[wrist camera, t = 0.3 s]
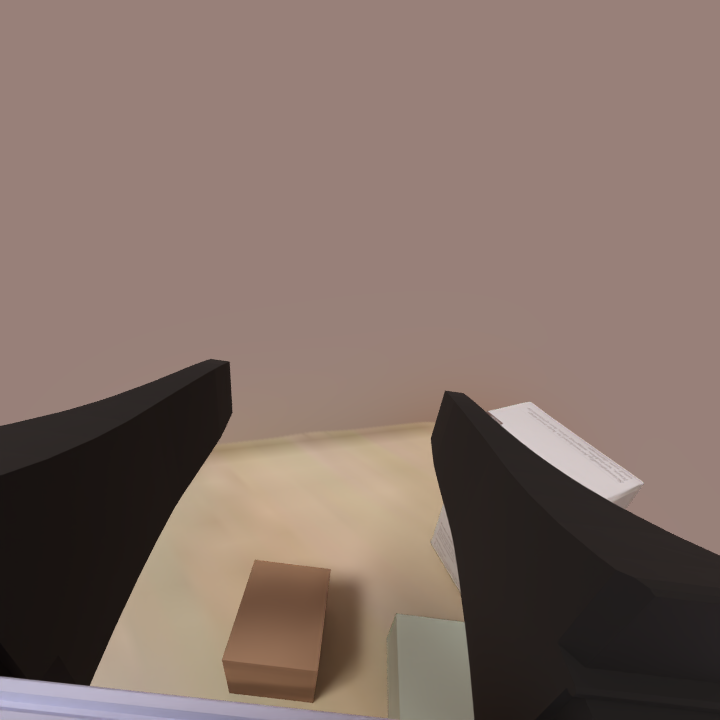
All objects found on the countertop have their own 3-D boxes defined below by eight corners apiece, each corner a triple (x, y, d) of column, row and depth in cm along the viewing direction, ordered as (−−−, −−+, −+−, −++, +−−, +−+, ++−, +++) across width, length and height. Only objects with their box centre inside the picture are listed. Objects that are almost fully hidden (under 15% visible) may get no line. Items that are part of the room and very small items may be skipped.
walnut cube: (312, 703, 19) (317, 671, 17) (229, 693, 19) (221, 659, 16) (325, 605, 23) (330, 569, 21) (257, 597, 23) (254, 559, 21)
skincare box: (547, 617, 24) (661, 488, 17) (487, 652, 22) (588, 520, 15) (475, 519, 31) (535, 396, 24) (423, 538, 29) (471, 408, 21)
